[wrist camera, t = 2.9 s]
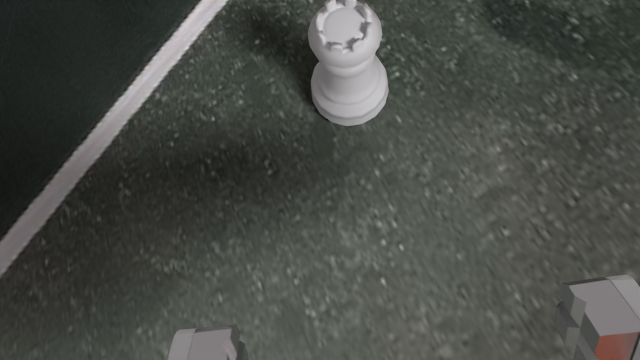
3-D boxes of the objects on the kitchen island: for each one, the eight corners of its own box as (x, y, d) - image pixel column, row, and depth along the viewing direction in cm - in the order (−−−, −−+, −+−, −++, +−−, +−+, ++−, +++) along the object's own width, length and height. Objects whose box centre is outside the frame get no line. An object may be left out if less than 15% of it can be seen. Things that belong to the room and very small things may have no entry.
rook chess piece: (302, 71, 28) (277, -5, 20) (372, 45, 28) (375, -41, 20) (326, 139, 27) (310, 86, 19) (399, 113, 27) (413, 50, 19)
